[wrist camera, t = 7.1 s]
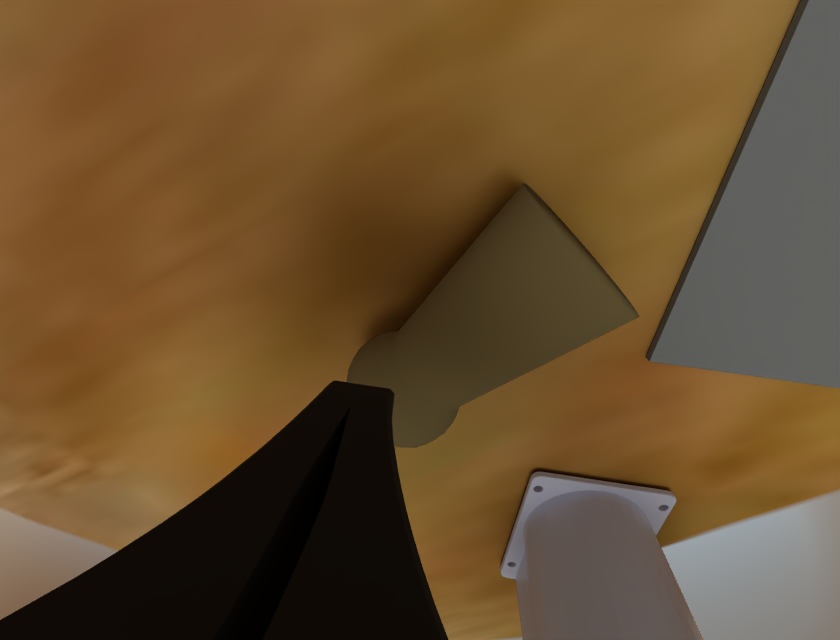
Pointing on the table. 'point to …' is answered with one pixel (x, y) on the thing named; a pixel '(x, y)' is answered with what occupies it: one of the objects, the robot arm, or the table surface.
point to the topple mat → (772, 229)
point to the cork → (492, 319)
